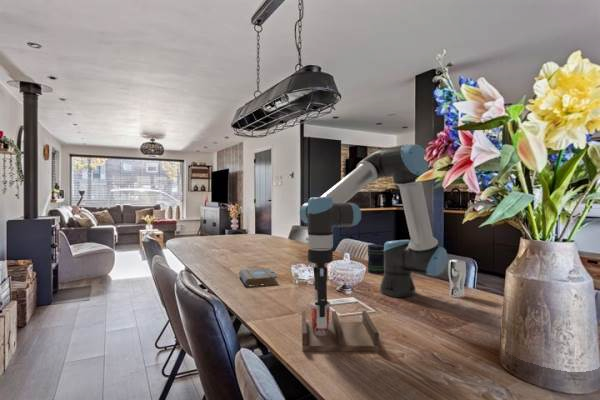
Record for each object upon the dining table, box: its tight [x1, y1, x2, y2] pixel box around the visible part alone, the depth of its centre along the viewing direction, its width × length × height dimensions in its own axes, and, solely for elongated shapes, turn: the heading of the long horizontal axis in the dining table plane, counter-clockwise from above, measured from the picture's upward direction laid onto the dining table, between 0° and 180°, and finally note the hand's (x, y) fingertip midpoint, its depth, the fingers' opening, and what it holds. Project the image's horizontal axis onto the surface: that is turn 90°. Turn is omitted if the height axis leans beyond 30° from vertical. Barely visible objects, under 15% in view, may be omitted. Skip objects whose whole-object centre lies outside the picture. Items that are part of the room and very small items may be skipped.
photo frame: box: [327, 296, 376, 318], centre depth 132 cm, size 15×1×18 cm
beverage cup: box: [310, 299, 331, 336], centre depth 103 cm, size 6×6×14 cm
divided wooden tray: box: [301, 310, 380, 352], centre depth 103 cm, size 21×18×5 cm
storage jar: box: [367, 243, 384, 275], centre depth 192 cm, size 10×10×15 cm
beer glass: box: [447, 258, 467, 299], centre depth 146 cm, size 7×7×15 cm
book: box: [238, 267, 279, 286], centre depth 174 cm, size 21×16×5 cm
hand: (320, 318), depth 103 cm, fingers open, 13 cm apart
